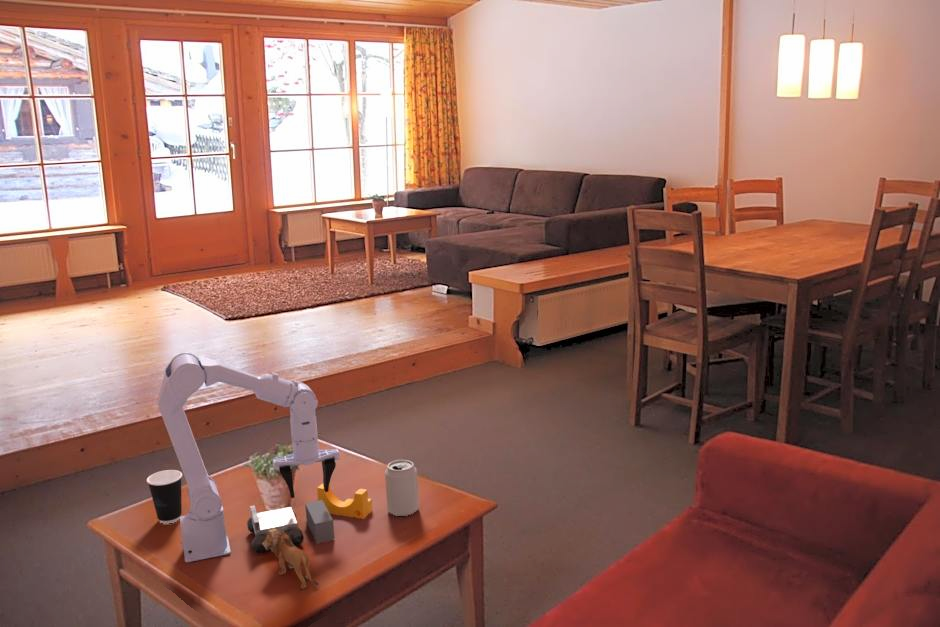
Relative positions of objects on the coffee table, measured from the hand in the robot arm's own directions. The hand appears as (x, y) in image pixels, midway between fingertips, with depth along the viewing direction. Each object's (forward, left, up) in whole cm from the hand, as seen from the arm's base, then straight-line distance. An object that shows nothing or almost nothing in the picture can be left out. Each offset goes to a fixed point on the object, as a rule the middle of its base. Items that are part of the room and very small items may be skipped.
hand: (309, 493), depth 193 cm
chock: (+1, -2, -9) cm, 9 cm away
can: (+21, -1, -9) cm, 23 cm away
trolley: (-9, -2, -9) cm, 12 cm away
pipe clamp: (+9, +5, -9) cm, 13 cm away
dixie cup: (-31, +18, -9) cm, 37 cm away
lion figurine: (-8, -19, -9) cm, 22 cm away
